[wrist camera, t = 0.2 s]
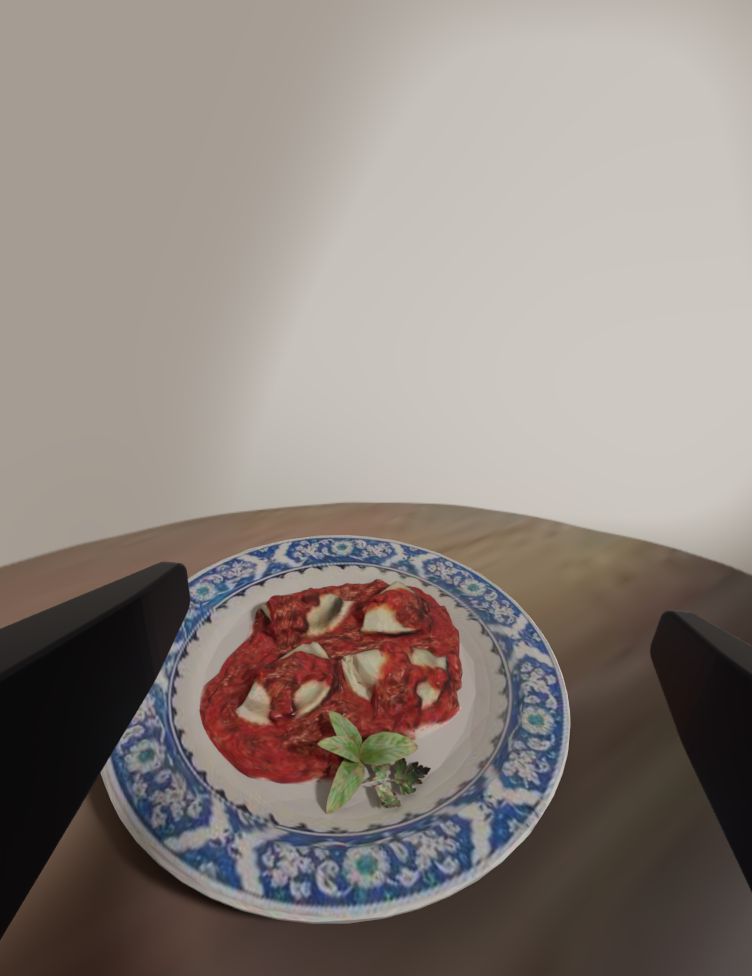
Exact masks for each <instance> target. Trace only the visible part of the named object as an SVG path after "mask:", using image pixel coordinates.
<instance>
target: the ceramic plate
mask: <svg viewBox="0 0 752 976" xmlns="http://www.w3.org/2000/svg"><path fill="white" fill-rule="evenodd" d="M188 584H189V591H190V607H189V610H188V613H187V615H186V617H185V619H184V621H183V623H182V625H181V628H180V630H179V632H178V634H177V636H176V638H175V641H174V643H173V645H172V647H171V649H170V651H169V653H168V656H167V658H166V660H165V662H164V664H163V666H162V669H161V670H160V672H159V674H158V676H157V678H156V680H155V682H154V684H153V686H152V687H151V689H150V691H149V693H148V694H147V696H146V698H145V699H144V701H143V703H142V704H141V706H140V708H139V709H138V711H137V713H136V714H135V716H134V718H133V719H132V721H131V723H130V724H129V726H128V728H127V729H126V731H125V733H124V734H123V736H122V738H121V739H120V741H119V743H118V744H117V746H116V748H115V749H114V751H113V753H112V754H111V756H110V758H109V759H108V761H107V763H106V764H105V766H104V768H103V769H102V771H101V776H102V779H103V782H104V785H105V788H106V790H107V792H108V795H109V797H110V800H111V802H112V804H113V806H114V808H115V810H116V812H117V814H118V816H119V818H120V820H121V821H122V822H123V824H124V825H125V826H126V828H127V829H128V831H129V832H130V833H131V835H132V836H133V838H134V839H135V840H136V842H137V843H138V844H139V845H140V846H141V847H142V848H143V849H144V850H145V851H146V852H147V853H148V854H149V855H150V856H151V857H152V858H153V859H154V861H155V862H156V863H157V864H159V865H160V866H161V867H163V868H164V869H165V870H166V871H168V872H169V873H170V874H172V875H173V876H174V877H176V878H177V879H178V880H179V881H181V882H182V883H184V884H186V885H187V886H189V887H191V888H193V889H194V890H196V891H198V892H200V893H202V894H203V895H205V896H207V897H209V898H210V899H213V900H215V901H218V902H221V903H223V904H226V905H228V906H231V907H233V908H236V909H238V910H241V911H244V912H248V913H252V914H256V915H260V916H264V917H268V918H272V919H276V920H284V921H292V922H301V923H309V924H342V923H355V922H362V921H370V920H377V919H384V918H388V917H391V916H395V915H399V914H403V913H406V912H410V911H414V910H418V909H420V908H423V907H425V906H428V905H430V904H432V903H435V902H437V901H440V900H442V899H445V898H447V897H449V896H451V895H453V894H455V893H457V892H458V891H460V890H462V889H464V888H465V887H467V886H469V885H471V884H472V883H474V882H476V881H478V880H479V879H480V878H482V877H483V876H484V875H486V874H487V873H488V872H490V871H491V870H492V869H494V868H495V867H496V866H498V865H499V864H500V863H502V862H503V861H504V860H505V859H506V858H507V856H508V855H509V854H510V853H511V852H512V851H513V850H514V849H515V848H516V847H517V846H518V845H520V844H521V843H522V842H523V841H524V840H525V838H526V837H527V836H528V835H529V834H530V833H531V832H532V830H533V829H534V827H535V825H536V824H537V822H538V821H539V819H540V818H541V816H542V815H543V813H544V811H545V810H546V808H547V806H548V805H549V803H550V801H551V800H552V798H553V796H554V794H555V791H556V789H557V786H558V784H559V781H560V779H561V776H562V773H563V770H564V766H565V762H566V758H567V754H568V745H569V735H570V710H569V702H568V695H567V690H566V687H565V683H564V679H563V675H562V673H561V670H560V667H559V665H558V662H557V660H556V657H555V655H554V653H553V651H552V650H551V648H550V646H549V644H548V642H547V640H546V638H545V637H544V635H543V634H542V632H541V631H540V630H539V628H538V627H537V626H536V624H535V623H534V622H533V620H532V619H531V618H530V617H529V615H528V614H527V613H526V612H525V611H524V610H523V609H522V608H521V607H520V605H519V604H518V603H517V602H516V601H515V600H514V599H512V598H511V597H510V596H509V595H508V594H506V593H505V592H504V591H503V590H501V589H500V588H499V587H498V586H496V585H495V584H494V583H492V582H491V581H490V580H488V579H487V578H485V577H484V576H483V575H481V574H480V573H478V572H476V571H474V570H472V569H470V568H469V567H467V566H465V565H463V564H461V563H459V562H457V561H455V560H453V559H451V558H448V557H446V556H444V555H442V554H440V553H437V552H433V551H430V550H427V549H424V548H421V547H418V546H414V545H411V544H407V543H403V542H399V541H395V540H388V539H381V538H374V537H365V536H351V535H333V536H312V537H304V538H297V539H289V540H284V541H280V542H275V543H271V544H267V545H263V546H259V547H255V548H251V549H248V550H246V551H243V552H241V553H238V554H236V555H233V556H231V557H228V558H226V559H223V560H221V561H219V562H217V563H215V564H213V565H211V566H209V567H207V568H205V569H203V570H201V571H200V572H198V573H196V574H195V575H193V576H191V577H190V578H188Z"/></svg>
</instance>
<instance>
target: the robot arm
mask: <svg viewBox="0 0 752 976" xmlns="http://www.w3.org/2000/svg"><path fill="white" fill-rule="evenodd" d="M189 607H190V591H189V584H188V576H187V570H186V567H185V566H184V565H183V564H182V563H174V562H160V563H158V564H155V565H153V566H150V567H148V568H146V569H143V570H141V571H138V572H136V573H134V574H131V575H129V576H126V577H124V578H121V579H119V580H117V581H114V582H112V583H109V584H107V585H105V586H102V587H100V588H97V589H95V590H93V591H90V592H88V593H85V594H83V595H80V596H78V597H76V598H73V599H71V600H68V601H66V602H64V603H61V604H59V605H56V606H54V607H52V608H49V609H47V610H44V611H42V612H39V613H37V614H35V615H32V616H30V617H27V618H25V619H23V620H20V621H18V622H15V623H13V624H11V625H8V626H6V627H3V628H1V629H0V940H1V938H2V936H3V935H4V933H5V931H6V930H7V928H8V926H9V925H10V923H11V921H12V920H13V918H14V916H15V915H16V913H17V911H18V910H19V908H20V906H21V905H22V903H23V901H24V900H25V898H26V896H27V895H28V893H29V891H30V890H31V888H32V886H33V885H34V883H35V881H36V879H37V878H38V876H39V874H40V873H41V871H42V869H43V868H44V866H45V864H46V863H47V861H48V859H49V858H50V856H51V854H52V853H53V851H54V849H55V848H56V846H57V844H58V843H59V841H60V839H61V838H62V836H63V834H64V833H65V831H66V829H67V828H68V826H69V824H70V823H71V821H72V819H73V818H74V816H75V814H76V813H77V811H78V809H79V808H80V806H81V804H82V803H83V801H84V799H85V798H86V796H87V794H88V793H89V791H90V789H91V788H92V786H93V784H94V783H95V781H96V779H97V778H98V776H99V774H100V773H101V771H102V769H103V768H104V766H105V764H106V763H107V761H108V759H109V758H110V756H111V754H112V753H113V751H114V749H115V748H116V746H117V744H118V743H119V741H120V739H121V738H122V736H123V734H124V733H125V731H126V729H127V728H128V726H129V724H130V723H131V721H132V719H133V718H134V716H135V714H136V713H137V711H138V709H139V708H140V706H141V704H142V703H143V701H144V699H145V698H146V696H147V694H148V693H149V691H150V689H151V687H152V686H153V684H154V682H155V680H156V678H157V676H158V674H159V672H160V670H161V669H162V666H163V664H164V662H165V660H166V658H167V656H168V653H169V651H170V649H171V647H172V645H173V643H174V641H175V638H176V636H177V634H178V632H179V630H180V628H181V625H182V623H183V621H184V619H185V617H186V615H187V613H188V610H189ZM650 654H651V659H652V662H653V665H654V668H655V671H656V674H657V676H658V679H659V682H660V685H661V688H662V691H663V693H664V696H665V699H666V702H667V705H668V707H669V710H670V713H671V716H672V719H673V722H674V724H675V727H676V730H677V732H678V735H679V737H680V740H681V742H682V744H683V747H684V749H685V751H686V753H687V756H688V758H689V760H690V762H691V764H692V766H693V768H694V771H695V773H696V775H697V777H698V779H699V781H700V783H701V785H702V788H703V790H704V792H705V794H706V796H707V798H708V800H709V802H710V805H711V807H712V809H713V811H714V813H715V815H716V817H717V819H718V822H719V824H720V826H721V828H722V830H723V832H724V834H725V836H726V838H727V841H728V843H729V845H730V847H731V849H732V851H733V853H734V855H735V858H736V860H737V862H738V864H739V866H740V868H741V870H742V872H743V875H744V877H745V879H746V881H747V883H748V885H749V887H750V889H751V892H752V646H751V645H749V644H747V643H745V642H744V641H742V640H740V639H738V638H737V637H735V636H733V635H731V634H730V633H728V632H726V631H724V630H722V629H721V628H719V627H717V626H715V625H714V624H712V623H710V622H708V621H706V620H705V619H703V618H701V617H699V616H698V615H696V614H694V613H692V612H688V611H678V610H667V611H665V612H664V613H663V614H662V615H661V618H660V620H659V623H658V626H657V629H656V632H655V634H654V637H653V640H652V643H651V647H650Z"/></svg>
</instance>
